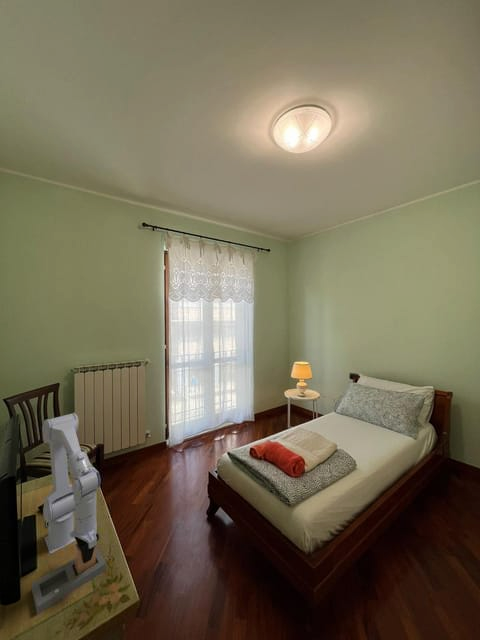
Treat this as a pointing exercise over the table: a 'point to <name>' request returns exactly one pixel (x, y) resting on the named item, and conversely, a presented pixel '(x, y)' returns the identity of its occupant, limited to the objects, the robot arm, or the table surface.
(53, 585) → the grey slotted tray
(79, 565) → the tan rectangular block
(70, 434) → the robot arm
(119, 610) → the table surface
